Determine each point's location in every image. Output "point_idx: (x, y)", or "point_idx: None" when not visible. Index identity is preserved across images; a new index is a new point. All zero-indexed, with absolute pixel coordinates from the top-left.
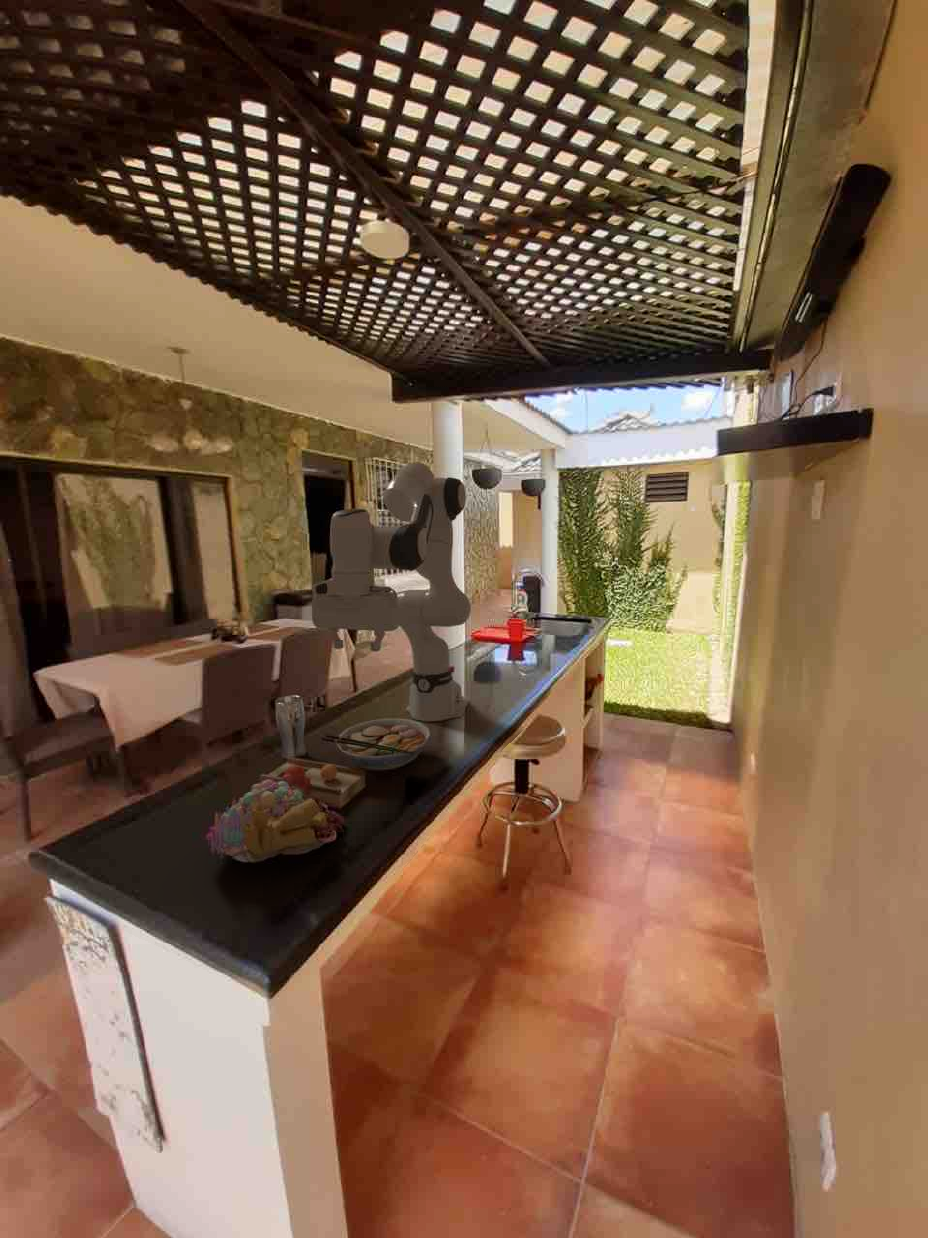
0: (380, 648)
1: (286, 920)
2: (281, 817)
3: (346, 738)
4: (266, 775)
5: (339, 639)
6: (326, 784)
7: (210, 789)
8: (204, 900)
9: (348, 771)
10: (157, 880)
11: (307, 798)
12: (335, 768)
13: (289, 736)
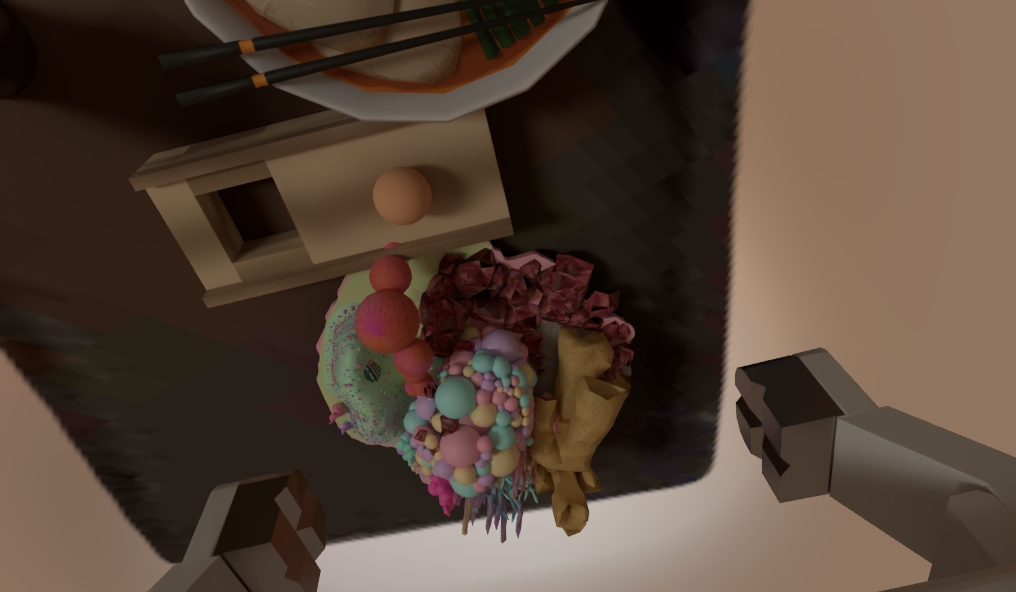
0: (828, 354)
1: (672, 437)
2: (579, 456)
3: (285, 40)
4: (226, 298)
5: (225, 570)
6: None
7: (88, 343)
8: None
9: None
10: (403, 500)
11: None
12: (421, 186)
13: None
